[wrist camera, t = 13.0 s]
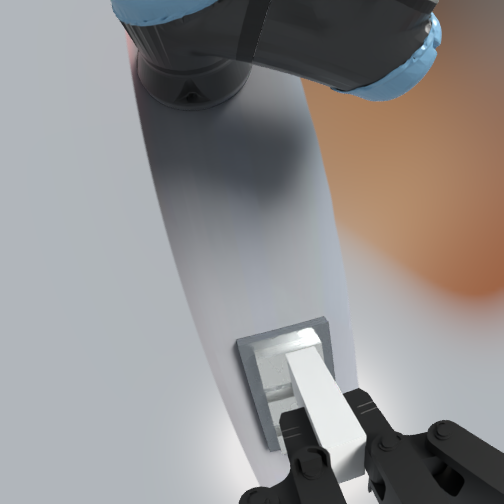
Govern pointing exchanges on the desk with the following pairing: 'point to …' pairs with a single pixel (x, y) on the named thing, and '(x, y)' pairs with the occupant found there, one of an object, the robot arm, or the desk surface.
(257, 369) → the breaker panel
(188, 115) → the desk surface
